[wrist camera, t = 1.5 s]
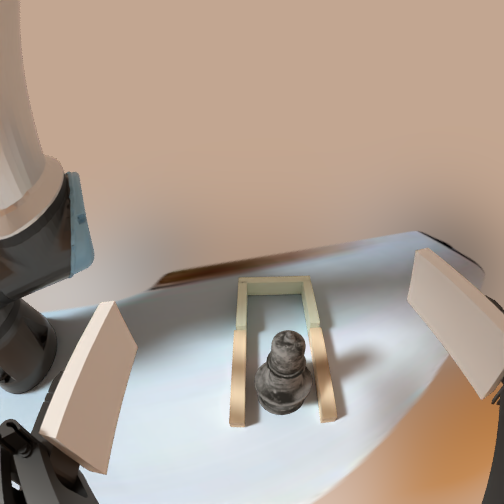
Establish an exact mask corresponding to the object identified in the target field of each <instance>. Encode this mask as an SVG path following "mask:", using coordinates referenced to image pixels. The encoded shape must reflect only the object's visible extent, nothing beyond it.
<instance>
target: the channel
mask: <svg viewBox="0 0 504 504" xmlns="http://www.w3.org/2000/svg"><path fill="white" fill-rule="evenodd" d="M308 336H309V343H310V349H311V355H312V362H313V369H314V376H315V383H316V390H317V398H318V405H319V413H320V421H321V423H326V422H333V421H335V420H336V418H337V411H336V405H335V398H334V393H333V387H332V381H331V375H330V370H329V364H328V359H327V354H326V349H325V344H324V339H323V334H322V329H321V327H319V328H310V329H309V334H308ZM246 347H247V334H246V330H234V342H233V360H232V378H231V398H230V418H229V424H230V426H231V427H245V399H246Z"/></svg>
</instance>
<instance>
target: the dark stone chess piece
mask: <svg viewBox="0 0 504 504" xmlns="http://www.w3.org/2000/svg"><path fill="white" fill-rule="evenodd" d="M304 353H305V341H304V339H303V337H302V336H301V335H300V334H299V333H297V332H295V331H291V330H286V331H282V332H279V333H278V334H276V336H275V337H274V338H273V341H272V346H271V352H270V353H269V355H268V357H267V362H265V363H264V364H263V365H262V366H261V367H260V368H259V369H258V371H257V373H256V375H255V381H254V382H255V388H256V390H257V392H258V399H259V402H260V404H261V406H262V407H263V408H264V409H265V410H267V411H269V412H270V413H273V414H276V415H285V414H290V413H292V412H294V411H296V410H297V409H298V408H300V406H301V405H302V403H303V401H304V398H306V397H307V395H308V394H309V392H310V390H311V387H312V376H311V373H310V371H309V370H308V368H307V367H306V359H305V357H304Z"/></svg>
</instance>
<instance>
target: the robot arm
mask: <svg viewBox="0 0 504 504" xmlns="http://www.w3.org/2000/svg"><path fill="white" fill-rule="evenodd" d="M93 260H94V249H93V245H92V241H91V237H90V232H89V228H88V224H87V219H86V213H85V209H84V202H83V196H82V190H81V184H80V178H79V174H78V173H77V172H72V173H71V172H67V173H66V174H64V171H63V168H62V166H61V163H60V162H59V161H58V160H57V159H56V158H54V157H51V156H47V155H44V154H43V151H42V148H41V145H40V141H39V138H38V134H37V130H36V127H35V123H34V119H33V115H32V110H31V106H30V101H29V96H28V91H27V86H26V80H25V73H24V66H23V58H22V48H21V35H20V0H0V386H1V387H2V388H3V389H4V390H6V391H7V392H10V393H23V392H26V391H28V390H30V389H31V388H33V387H34V386H36V385H37V384H38V383H39V382H40V381H41V380H42V379H43V378H44V376H45V375H46V374H47V372H48V370H49V369H50V367H51V365H52V363H53V360H54V357H55V353H56V348H57V339H56V334H55V331H54V329H53V328H52V326H51V325H50V323H49V322H48V320H47V319H46V318H45V317H44V316H43V315H42V314H41V313H39V312H38V311H37V310H35V309H34V308H33V307H31V306H30V305H29V304H28V303H26V302H25V301H24V300H23V299H21V298H22V297H24V296H26V295H29V294H31V293H33V292H35V291H38V290H40V289H43V288H45V287H47V286H50V285H52V284H55V283H57V282H59V281H62V280H64V279H67V278H71V277H72V276H73V275H74V274H76V273H78V272H80V271H82V270H84V269H86V268H88V267H89V266H90V265H91V264H92V263H93ZM407 301H408V302H409V304H410V305H411V306H412V307H413V308H414V310H415V311H416V312H417V313H418V314H419V316H420V317H421V318H422V319H423V321H424V322H425V323H426V324H427V326H428V327H429V328H430V329H431V331H432V332H433V333H434V334H435V336H436V337H437V338H438V339H439V341H440V342H441V343H442V345H443V346H444V347H445V349H446V350H447V351H448V353H449V354H450V355H451V357H452V358H453V359H454V361H455V362H456V363H457V365H458V366H459V368H460V369H461V371H462V372H463V373H464V375H465V376H466V378H467V379H468V381H469V382H470V383H471V385H472V386H473V388H474V390H475V391H476V392H477V394H478V396H479V397H480V399H481V400H482V399H484V398H485V397H486V396H488V395H489V394H491V393H492V392H493V391H494V390H495V389H496V387H497V386H498V385H499V383H500V382H502V383H503V386H502V387H501V389H500V390H499V392H498V393H497V394H496V395H495V397H494V398H493V400H492V404H494V403H495V402H496V400H497V399H498V398H499V397H500V399H499V401H498V402H497V405H500V410H499V422H498V431H497V439H496V446H495V452H494V457H493V462H492V467H491V472H490V476H489V480H488V484H487V488H486V491H485V495H484V498H483V501H482V504H504V310H503V309H502V307H501V306H500V305H499V304H498V303H497V302H496V301H495V300H493V299H491V298H489V297H487V296H485V295H483V294H482V293H481V292H480V291H479V290H478V289H477V288H476V287H475V286H474V285H472V284H471V283H470V282H469V281H468V280H467V279H466V278H464V277H463V276H462V275H461V274H460V273H459V272H457V271H456V270H455V269H454V268H453V267H451V266H450V265H449V264H448V263H447V262H445V261H444V260H443V259H442V258H440V257H439V256H438V255H437V254H435V253H434V252H433V251H431V250H430V249H429V248H425V249H420V250H416V252H415V259H414V265H413V271H412V277H411V282H410V287H409V292H408V297H407ZM137 349H138V346H137V345H136V343H135V341H134V339H133V337H132V335H131V333H130V331H129V329H128V327H127V325H126V323H125V321H124V319H123V317H122V315H121V313H120V311H119V309H118V307H117V305H116V302H115V301H108V302H101V303H100V304H99V306H98V307H97V309H96V311H95V313H94V314H93V316H92V318H91V320H90V322H89V323H88V325H87V327H86V329H85V331H84V333H83V335H82V336H81V338H80V340H79V342H78V344H77V346H76V348H75V350H74V352H73V354H72V356H71V358H70V360H69V362H68V364H67V366H66V368H65V371H61V372H60V373H59V374H58V375H57V377H56V378H55V379H54V380H53V382H52V384H51V386H50V388H49V391H48V392H49V393H47V395H46V397H45V402H43V404H42V407H41V409H40V412H39V414H38V417H37V419H36V422H35V424H34V427H33V430H32V432H31V434H30V433H29V432H28V431H27V430H26V429H24V428H23V427H22V426H21V425H20V424H19V423H18V422H17V421H16V420H13V419H8V420H6V421H4V422H3V423H2V424H1V425H0V504H99V503H98V501H97V500H96V498H95V496H94V494H93V493H92V491H91V489H90V487H89V485H88V483H87V481H86V479H85V477H84V475H83V474H82V473H81V471H80V470H79V466H80V465H81V466H83V467H84V468H86V469H87V470H89V471H92V472H96V473H100V474H105V475H107V469H108V464H109V459H110V453H111V449H112V444H113V439H114V435H115V430H116V426H117V421H118V417H119V413H120V409H121V405H122V401H123V397H124V394H125V390H126V386H127V383H128V379H129V376H130V372H131V369H132V365H133V362H134V359H135V355H136V352H137ZM11 480H12V481H14V482H15V483H17V484H18V485H20V490H17V489H15V488H13V487H12V483H11Z"/></svg>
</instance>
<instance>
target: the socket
mask: <svg viewBox="0 0 504 504" xmlns="http://www.w3.org/2000/svg"><path fill="white" fill-rule="evenodd" d="M285 294H301V296H302V302H303V307H304V313H305V319H306V325H307V331H308V334H309V329H310V328H319V325H320V320H319V315H318V311H317V306H316V302H315V297H314V293H313V288H312V284H311V280H310V276H287V277H241V278H239V281H238V297H237V314H236V330H246V334H247V295H285Z"/></svg>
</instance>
